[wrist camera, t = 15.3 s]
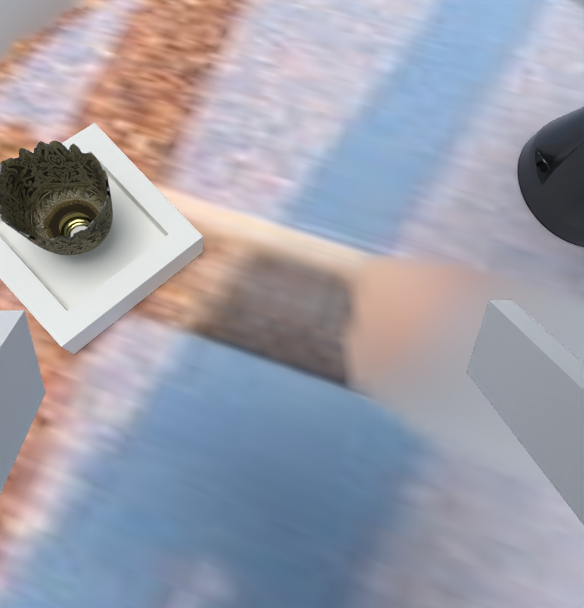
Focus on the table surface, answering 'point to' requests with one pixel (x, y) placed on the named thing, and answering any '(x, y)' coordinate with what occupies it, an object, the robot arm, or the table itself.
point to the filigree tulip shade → (56, 198)
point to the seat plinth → (101, 255)
